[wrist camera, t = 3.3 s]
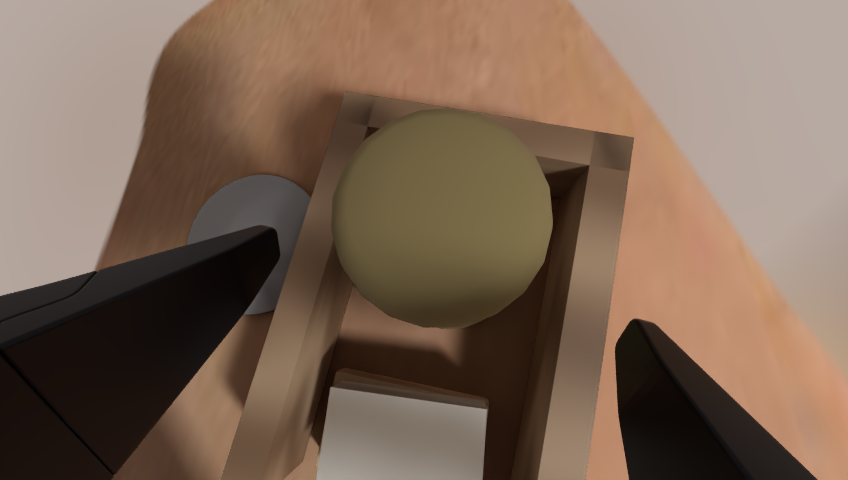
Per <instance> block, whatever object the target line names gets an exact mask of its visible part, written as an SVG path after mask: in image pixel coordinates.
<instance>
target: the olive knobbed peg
mask: <svg viewBox="0 0 848 480" xmlns="http://www.w3.org/2000/svg"><path fill="white" fill-rule="evenodd" d="M552 228H553V218H552V207H551V197H550V187H549V185H548V183H547V180H546V178H545V176H544V174H543V172H542V170H541V167H540V165H539V163H538V161H537V159H536V157H535V155H534V154H533V153H532V152H531V151H530V150H529V149H528V148H527V147H526V146H525V145H524V144H523V143H522V142H521V141H520V139H519V138H518V137H517V136H516V135H515V134H514V133H513V132H511V131H509V130H508V129H506V128H504V127H502V126H501V125H499V124H497V123H495V122H493V121H492V120H490V119H488V118H486V117H484V116H482V115H479V114H474V113H469V112H465V111H460V110H456V109H451V108H447V109H433V110H419V111H417V112H414V113H411V114H408V115H406V116H403V117H400V118H397V119H395V120H392V121H390V122H388V123H387V124H386V125H384V126H383V127H382V128H380V129H379V130H377V131H376V132H375V133H373V134H372V135H371V136H369V137H368V138H366V139H365V140H364V141H363V143H362V144H361V145H360V147H359V148H358V149H357V150H356V152H355V153H354V154H353V156H352V157H351V158H350V160H349V161H348V162H347V164H346V165H345V166H344V168H343V170H342V173H341V176H340V178H339V181H338V184H337V186H336V189H335V192H334V194H333V197H332V217H331V232H332V236H333V239H334V243H335V246H336V250H337V253H338V257H339V260H340V263H341V265H342V267H343V269H344V270H345V272H346V273H347V275H348V276H349V278H350V279H351V281H352V282H353V283H354V285H355V286H356V288H357V289H358V291H359V292H360V294H361V295H362V296H363V297H364V298H366V299H367V300H368V301H370V302H371V303H372V304H374V305H375V306H376V307H378V308H379V309H380V310H382V311H383V312H384V313H386V314H387V315H388V316H390V317H393V318H396V319H399V320H402V321H405V322H408V323H412V324H415V325H418V326H421V327H438V328H441V329H462V328H465V327H468V326H471V325H474V324H477V323H480V322H481V321H482V320H484V319H485V318H488V317H491V316H494V315H496V314H497V313H499V312H500V311H501V310H503V309H504V308H505V307H506V306H508V305H509V304H510V303H512V302H513V301H514V300H515V299H517V298H518V297H519V296H521V295H522V294H523V293H524V292H525V291H526V289H527V288H528V286H529V285H530V283H531V282H532V280H533V279H534V277H535V276H536V274H537V273H538V271H539V269H540V268H541V266H542V265H543V263H544V261H545V257H546V253H547V249H548V245H549V241H550V237H551V232H552Z"/></svg>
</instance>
